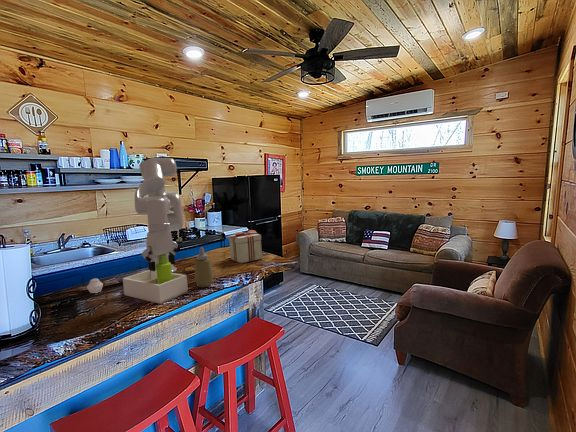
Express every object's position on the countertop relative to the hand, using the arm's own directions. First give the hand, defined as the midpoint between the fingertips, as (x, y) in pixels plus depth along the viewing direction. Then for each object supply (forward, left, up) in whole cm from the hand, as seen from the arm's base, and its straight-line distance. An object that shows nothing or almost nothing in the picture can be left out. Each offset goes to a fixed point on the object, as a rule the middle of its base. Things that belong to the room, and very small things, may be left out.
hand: (162, 267), depth 129 cm
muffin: (-32, -11, -13) cm, 37 cm away
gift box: (-5, +61, -13) cm, 62 cm away
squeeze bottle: (+7, +16, -13) cm, 21 cm away
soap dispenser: (0, 0, -12) cm, 12 cm away
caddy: (-6, 0, -12) cm, 13 cm away
